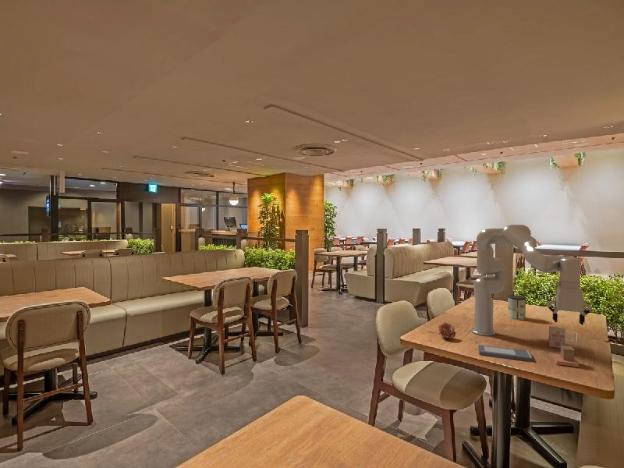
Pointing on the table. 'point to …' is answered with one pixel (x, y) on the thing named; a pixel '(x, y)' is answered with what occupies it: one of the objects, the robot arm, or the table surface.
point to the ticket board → (505, 353)
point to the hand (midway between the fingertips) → (568, 322)
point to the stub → (565, 357)
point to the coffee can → (516, 307)
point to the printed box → (556, 337)
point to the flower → (447, 330)
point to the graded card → (576, 336)
